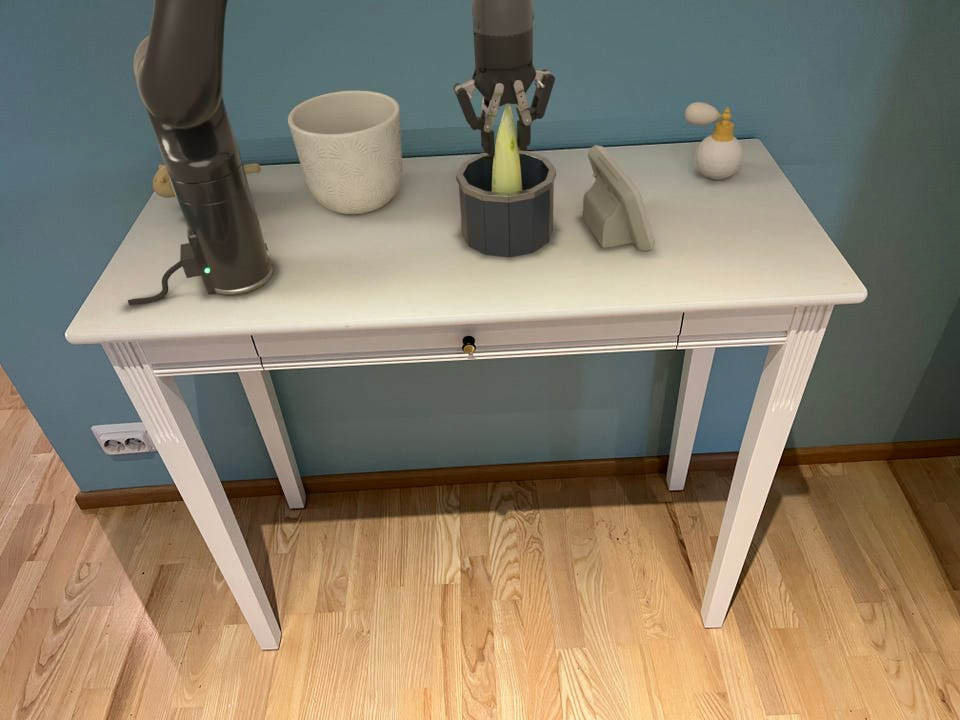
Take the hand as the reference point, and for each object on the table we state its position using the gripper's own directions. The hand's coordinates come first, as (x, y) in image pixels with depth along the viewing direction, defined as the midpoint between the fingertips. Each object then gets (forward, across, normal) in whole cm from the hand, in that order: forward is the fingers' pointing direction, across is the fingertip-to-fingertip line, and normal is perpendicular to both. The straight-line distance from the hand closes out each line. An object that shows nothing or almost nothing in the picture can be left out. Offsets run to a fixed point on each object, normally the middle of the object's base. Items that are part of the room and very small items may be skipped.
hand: (506, 150), depth 103 cm
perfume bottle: (+14, -37, -5) cm, 40 cm away
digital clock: (+13, -16, +5) cm, 21 cm away
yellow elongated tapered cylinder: (+13, 0, 0) cm, 13 cm away
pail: (+13, 0, 0) cm, 13 cm away
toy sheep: (+13, +43, -24) cm, 51 cm away
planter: (+13, +20, -18) cm, 30 cm away
